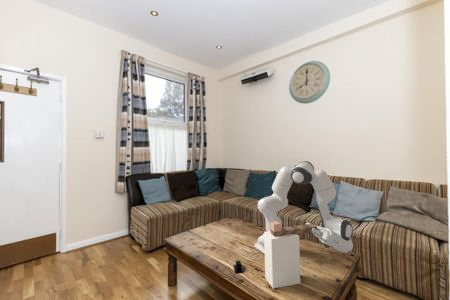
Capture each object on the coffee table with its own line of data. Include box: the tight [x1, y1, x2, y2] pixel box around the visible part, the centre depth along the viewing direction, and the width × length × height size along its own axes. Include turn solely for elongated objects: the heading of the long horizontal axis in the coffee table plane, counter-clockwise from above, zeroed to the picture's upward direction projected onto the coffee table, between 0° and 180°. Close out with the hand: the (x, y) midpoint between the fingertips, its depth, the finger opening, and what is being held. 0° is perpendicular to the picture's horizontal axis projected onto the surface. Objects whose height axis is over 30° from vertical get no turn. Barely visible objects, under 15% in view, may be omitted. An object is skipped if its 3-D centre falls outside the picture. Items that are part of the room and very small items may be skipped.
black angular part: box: [233, 260, 245, 274], centre depth 129 cm, size 12×7×5 cm, turn 4°
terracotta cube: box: [271, 221, 281, 232], centre depth 115 cm, size 4×4×4 cm
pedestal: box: [263, 231, 301, 289], centre depth 117 cm, size 16×10×26 cm, turn 102°
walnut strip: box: [271, 223, 318, 237], centre depth 118 cm, size 26×4×2 cm, turn 103°
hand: (308, 227), depth 120 cm, fingers closed on walnut strip, 4 cm apart
